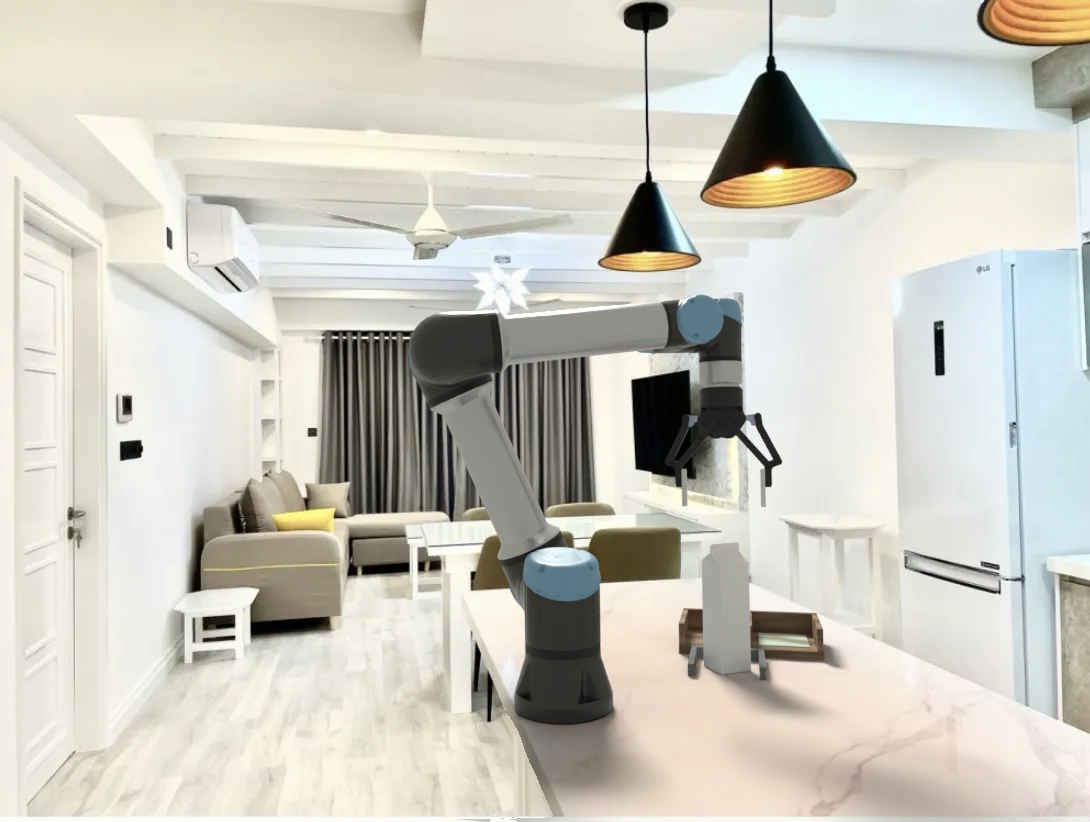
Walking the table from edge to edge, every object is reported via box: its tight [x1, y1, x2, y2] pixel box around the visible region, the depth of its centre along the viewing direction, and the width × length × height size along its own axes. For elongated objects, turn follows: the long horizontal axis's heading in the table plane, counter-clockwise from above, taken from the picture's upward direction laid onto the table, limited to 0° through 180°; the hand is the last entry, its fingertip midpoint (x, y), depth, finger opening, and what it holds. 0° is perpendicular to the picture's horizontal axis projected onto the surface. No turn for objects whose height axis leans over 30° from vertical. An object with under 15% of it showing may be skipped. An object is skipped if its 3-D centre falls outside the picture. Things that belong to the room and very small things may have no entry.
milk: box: [701, 541, 752, 676], centre depth 142 cm, size 6×6×22 cm
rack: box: [678, 607, 825, 662], centre depth 155 cm, size 14×26×6 cm, turn 76°
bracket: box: [687, 645, 767, 681], centre depth 142 cm, size 12×13×2 cm
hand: (723, 506), depth 142 cm, fingers open, 13 cm apart
